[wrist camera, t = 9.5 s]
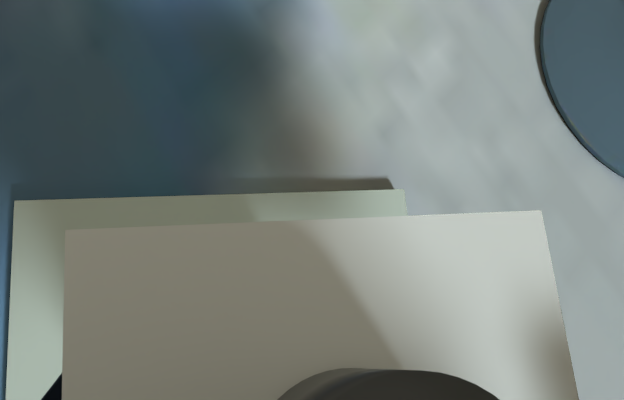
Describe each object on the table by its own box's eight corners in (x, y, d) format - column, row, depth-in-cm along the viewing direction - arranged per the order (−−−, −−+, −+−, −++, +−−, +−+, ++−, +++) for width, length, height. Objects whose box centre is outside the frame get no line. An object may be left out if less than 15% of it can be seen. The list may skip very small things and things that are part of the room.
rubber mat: (449, 588, 17) (459, 595, 16) (0, 677, 14) (-7, 691, 13) (397, 194, 20) (403, 188, 19) (20, 206, 17) (14, 201, 16)
